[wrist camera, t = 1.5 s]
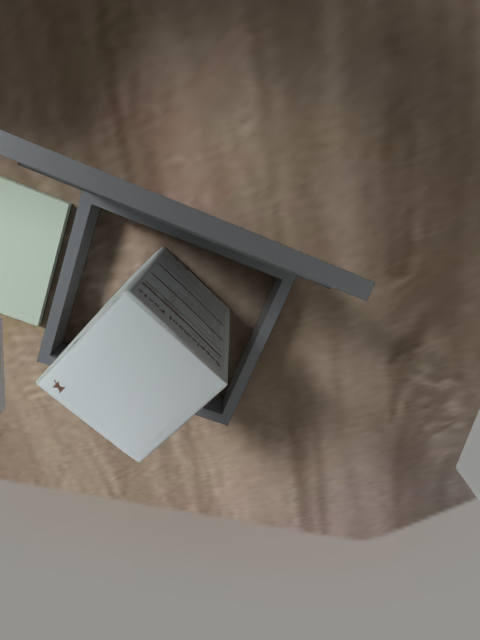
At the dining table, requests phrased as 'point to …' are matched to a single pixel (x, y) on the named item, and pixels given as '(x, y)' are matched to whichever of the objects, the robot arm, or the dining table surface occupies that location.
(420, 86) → the dining table surface
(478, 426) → the robot arm
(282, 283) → the grey square frame
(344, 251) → the dining table surface
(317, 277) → the lid
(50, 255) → the mat
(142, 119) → the dining table surface
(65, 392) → the supplement box
